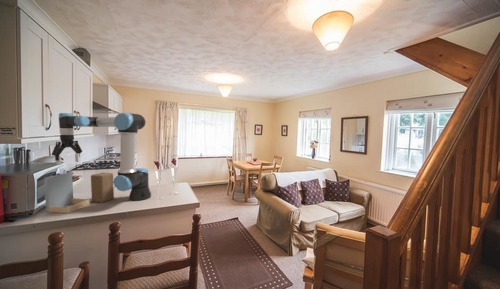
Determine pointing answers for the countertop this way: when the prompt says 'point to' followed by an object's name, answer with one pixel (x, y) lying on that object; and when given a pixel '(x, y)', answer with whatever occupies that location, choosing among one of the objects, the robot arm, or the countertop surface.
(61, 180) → the board
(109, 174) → the wooden block
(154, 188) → the countertop surface
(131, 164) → the robot arm
